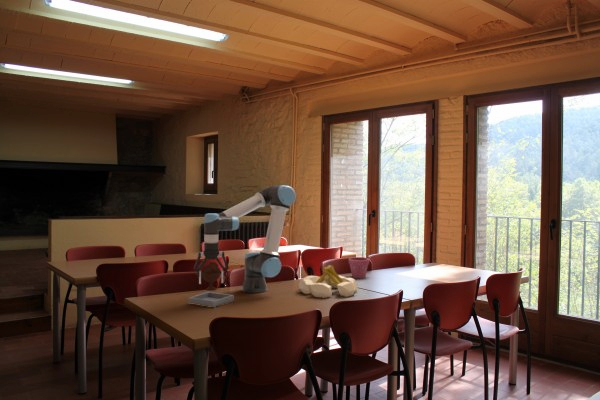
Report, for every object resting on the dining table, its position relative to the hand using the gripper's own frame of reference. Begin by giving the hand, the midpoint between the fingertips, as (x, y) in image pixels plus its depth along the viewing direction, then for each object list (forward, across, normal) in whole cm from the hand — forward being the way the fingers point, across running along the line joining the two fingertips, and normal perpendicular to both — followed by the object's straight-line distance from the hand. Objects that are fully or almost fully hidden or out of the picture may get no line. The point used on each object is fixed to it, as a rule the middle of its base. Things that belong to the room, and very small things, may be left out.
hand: (211, 283), depth 266 cm
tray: (+11, 0, 0) cm, 11 cm away
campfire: (+11, +71, +11) cm, 72 cm away
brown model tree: (+4, 0, 0) cm, 4 cm away
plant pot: (+10, +107, +52) cm, 119 cm away
